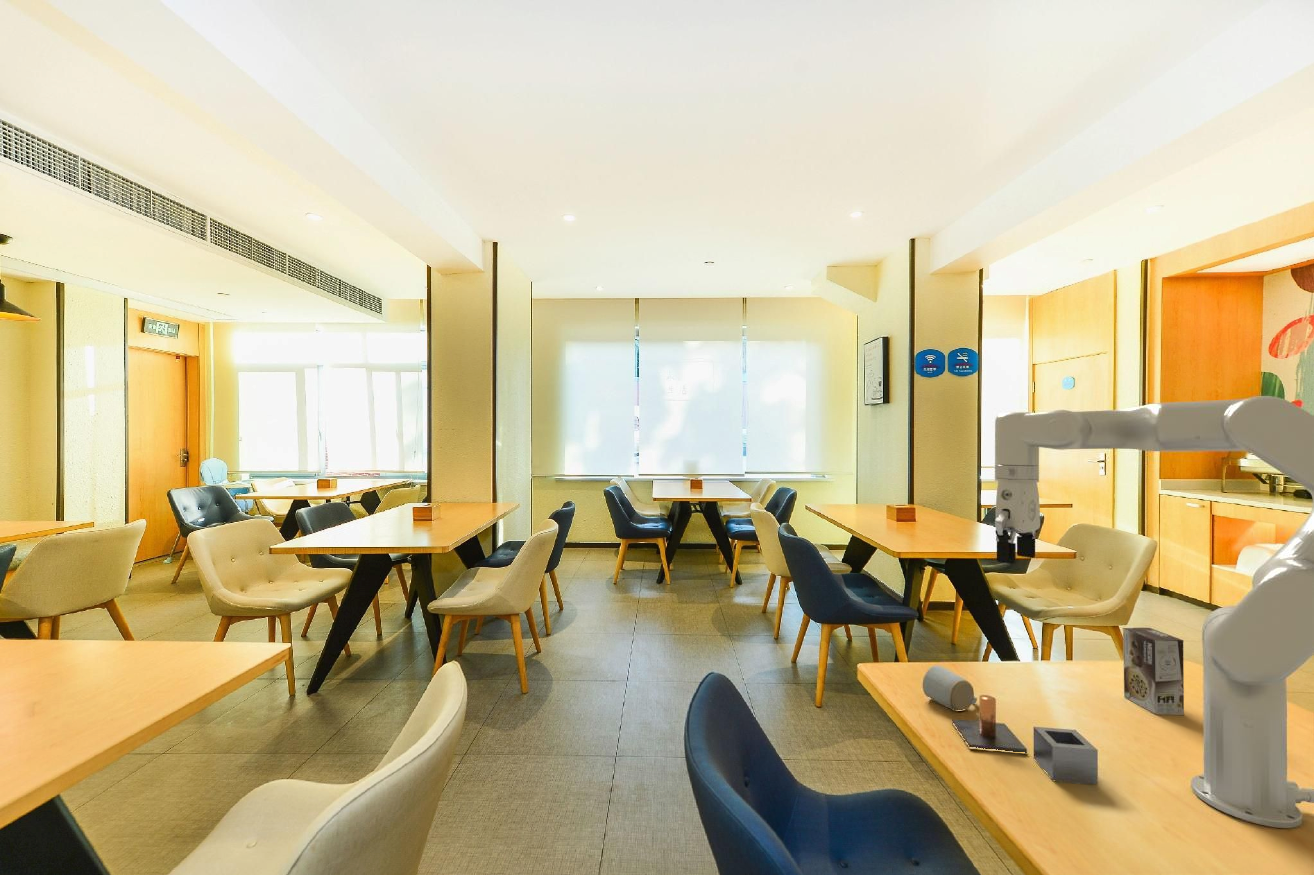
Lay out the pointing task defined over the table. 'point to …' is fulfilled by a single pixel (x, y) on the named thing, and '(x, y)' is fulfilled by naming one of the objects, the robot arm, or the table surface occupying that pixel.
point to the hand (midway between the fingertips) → (1016, 559)
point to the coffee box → (1154, 670)
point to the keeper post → (988, 729)
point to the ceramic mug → (948, 688)
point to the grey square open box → (1066, 755)
